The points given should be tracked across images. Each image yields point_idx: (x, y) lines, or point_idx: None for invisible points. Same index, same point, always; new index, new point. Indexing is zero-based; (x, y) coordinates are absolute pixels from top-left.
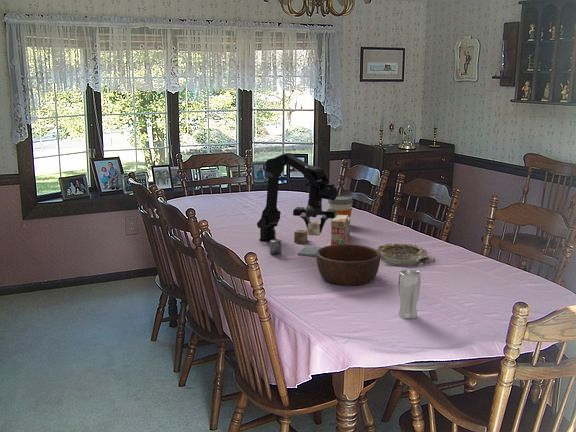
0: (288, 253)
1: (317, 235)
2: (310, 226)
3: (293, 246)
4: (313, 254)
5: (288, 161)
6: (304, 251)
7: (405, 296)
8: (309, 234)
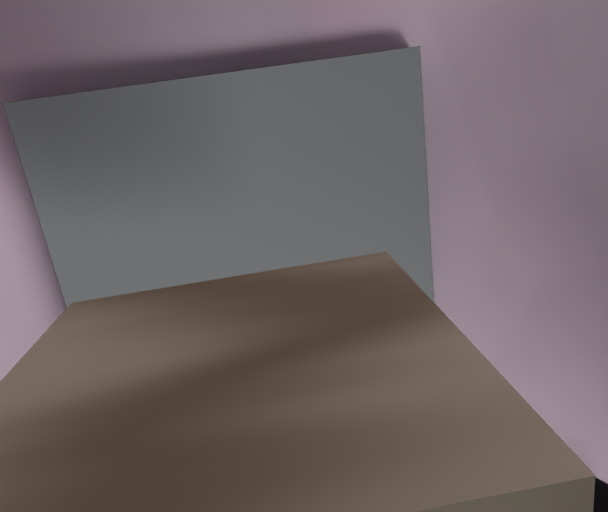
0: (554, 68)
1: (110, 296)
2: (375, 408)
3: (572, 366)
4: (186, 88)
5: None
6: (365, 173)
7: None
8: (342, 262)
